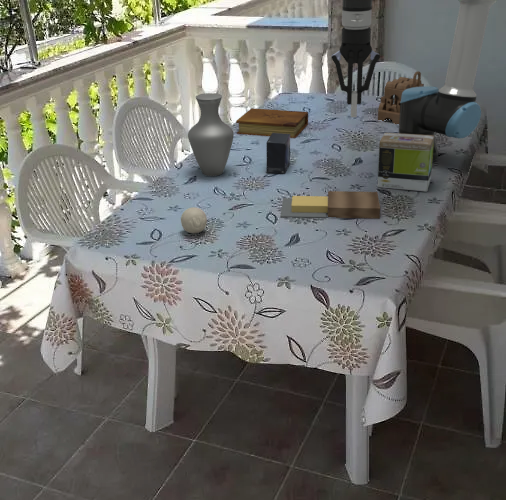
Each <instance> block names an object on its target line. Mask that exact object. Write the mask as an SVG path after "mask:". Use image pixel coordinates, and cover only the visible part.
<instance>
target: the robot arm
mask: <svg viewBox="0 0 506 500" xmlns="http://www.w3.org/2000/svg"><path fill="white" fill-rule="evenodd" d="M373 1H374V0H342V9H341V10H342V11H341V12H342V13H341V26H343V27H342V29H341V44H340V47H339V50H338V51H337V52H335V53H332V54H331V60H332V62H333V63H334V65H335V68H336V74H337V77H338V82H339V83H338V84H339V87H340V90H341V91H342V92H345V93H346V104H347V105H349V106H350V118H357V117H358V116H357V115H358V105H361V104H362V93H363V92H366V91H368V90H369V89H370V86H371V81H372V79H373V74H374V71H375V67H376V64H377V63H378V61H379V60H380V58H381V56H380V53H379V52H376V51H374V49H373V48H372V45H371V42H372V41H371V38H372V37H371V36H372V35H371V33H372V28H371V27H370V26H371V25H372V12H373V11H372V9H373ZM458 1H459V3H460V4H459V9H458V13H457V20H456V25H455V30H454V34H453V35H454V36H453V40H452V44H451V50H450V55H449V59H448V65H447V70H446V76H445V81H444V85H443V86H442V87H440V88H438V87H437V86H430V85H429V86H428V85H425V86H424V87H413V88H409V89H406V90H404V91H403V93H402V97H401V102H400V119H399V125H398V127H399V128H398V133H401V134H418V135H433V136H434V146H433V159H432V163H433V162H435V161H437V160H438V158H439V157H438V156H439V149H438V145H437V140H436V136H435V133H437V134H440V135H443V136H447V137H449V138H455V139H465V138H467V137H469V136H470V135H471V134H472V132H474V131H475V129H476V128H477V126H479V125H478V124H479V123H480V120H481V117H482V110H481V106H480V104H479V103H477V101H476V100H477V93H476V92H475V91H474V85H475V81H476V75H477V72H478V71H477V70H478V67H479V62H480V57H481V52H482V47H483V42H484V39H485V38H484V37H485V34H486V29H487V24H488V19H489V14H490V10H491V7H492V6H493V5H494V4H495V3H497V1H498V0H458ZM341 56H342V58H343V59H344V60H345V62H346V63H347V80H346V82H347V84H346V85H345V78H344V75H343V70H342V65H341V60H342V58H341ZM369 56H370V57H369ZM368 57H369V58H370V63H369V65H368V69H367V71H366V72H367V73H366V77H365V80H364V83H363V69H364V68H363V67H364V63H365V62H366V60H367V59H368ZM354 64H357V66H356V68H357V72H356V75H357V76H356V77H357V78H356V90H353V78H354V77H353V72H354Z"/></svg>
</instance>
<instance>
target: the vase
mask: <svg viewBox="0 0 506 500" xmlns="http://www.w3.org/2000/svg"><path fill="white" fill-rule="evenodd" d="M222 98H223V94H221V93H214V92H211V93H210V92H208V93H207V92H206V93H200V94H197V95H196V96H195V100H196V102H197V104H198V107H199V109H200V115H199V116H200V117H199V120H198V121H197V122H196V124H194V125H192V127H191V128H189V130H188V132H187V138H188V142H189V145H190V148H191V150H192V153H193V156H194V158H195V160H196V163H197V165H198V167H199V168H200V171H201V172H202V175H204V176H206V177H218V176H221V175H222V174H223V173H224V171H225V168H226V166H227V163H228V160H229V157H230V152H231V150H232V146H233V141H234V137H235V136H234V135H235V133H234V130H233V128H232V127H231V126H230V125H228V124H227V123H225V122H224V121H223V120H222V118H221V116H220V112H219V108H220V105H221V101H222Z"/></svg>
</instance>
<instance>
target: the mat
mask: <svg viewBox="0 0 506 500" xmlns="http://www.w3.org/2000/svg"><path fill="white" fill-rule="evenodd" d="M288 217H307V218H306V219H327V213H313V212H292V197H290V198H286V197H285V198H284V197H282V203H281V210H280V218H283V219H285V218H288Z"/></svg>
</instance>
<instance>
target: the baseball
mask: <svg viewBox="0 0 506 500" xmlns="http://www.w3.org/2000/svg"><path fill="white" fill-rule="evenodd" d="M180 216H181V217H180V223H181V226H182V228H183V229H184V230H185V232H187V233H190V234H198V233H201V232H202V231H204V230H205V228H206V227H207V223H208V217H207V215H206V213H205V211H204V210H202V209H201V208H199V207H189V208H186V209H185V210H184V211H183V212H182V214H181V215H180Z"/></svg>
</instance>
